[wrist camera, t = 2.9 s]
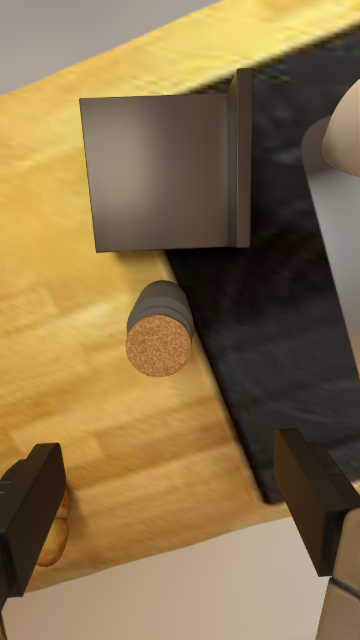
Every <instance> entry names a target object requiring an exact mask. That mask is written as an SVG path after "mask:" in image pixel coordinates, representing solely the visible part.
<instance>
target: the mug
mask: <svg viewBox="0 0 360 640" xmlns="http://www.w3.org/2000/svg"><path fill="white" fill-rule="evenodd" d="M321 151H322V156H323V159H324V160H325V162H326V163H327V164H328V165H329V166H331V167H333V168H335V169H338V170H340V171H343V172H345V173H348V174H351V175H355V176H360V79H359V80H358V81H357V82H356V83H355V84H354V85H353V86H352V87H351V88H350V89H349V90H348V92H347V93H346V94H345V95H344V97H343V98H342V99H341V101H340V102H339V104H338V106H337V107H336V109H335V111H334V113H333V115H332V117H331V120H330V122H329V125H328V128H327V130H326V133H325V136H324V138H323V141H322V148H321Z"/></svg>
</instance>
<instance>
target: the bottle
mask: <svg viewBox="0 0 360 640" xmlns="http://www.w3.org/2000/svg"><path fill="white" fill-rule="evenodd" d="M193 333H194V323H193V318H192V314H191V311H190V307H189V304H188V301H187V298H186V295H185V293H184V291H183V290H182V289H181V288H180V287H179V286H178V285H176V284H175V283H173V282H170V281H164V280H161V281H156V282H153V283H151V284H149V285H148V286H147V287H145V288H144V290H143V291H142V292H141V294H140V296H139V298H138V299H137V301H136V303H135V305H134V307H133V309H132V311H131V313H130V315H129V318H128V322H127V340H126V352H127V356H128V359H129V360H130V362H131V364H132V365H133V366H134V367H135V368H136V369H137V370H138V371H140V372H141V373H143V374H145V375H148V376H152V377H165V376H169V375H172V374H174V373H176V372H177V371H179V370H180V369H181V368H182V367H183V366H184V365H185V363H186V362H187V360H188V358H189V356H190V352H191V344H192V338H193Z"/></svg>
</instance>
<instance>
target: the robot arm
mask: <svg viewBox="0 0 360 640" xmlns="http://www.w3.org/2000/svg"><path fill="white" fill-rule="evenodd" d="M274 472H275V477H276V480H277V483H278V486H279V488H280V490H281V492H282V495H283V497H284V499H285V502H286V504H287V506H288V508H289V511H290V513H291V515H292V517H293V520H294V522H295V524H296V526H297V529H298V531H299V533H300V535H301V537H302V540H303V542H304V544H305V547H306V549H307V551H308V554H309V556H310V558H311V560H312V562H313V565H314V567H315V569H316V572H317V574H318V576H319V577H323V576H332V578H331V577H330V579H329V582H328V586H327V590H326V595H325V599H324V604H323V608H322V613H321V617H320V621H319V626H318V631H317V635H316V639H315V640H360V495H359V494H358V492H357V491H356V490H355V488H354V487H353V486H352V484H351V483H350V481H349V480H348V479H347V477H346V476H345V475H344V474H342V471H341V469H340V468H339V467H338V465H337V464H335V461H334V460H333V459H332V457H331V456H330V455H329V453H328V452H327V451H326V450H325V449H323V448H322V447H321V446H319V445H318V444H316V443H315V442H307V441H306V440H305V439H304V437H303V436H302V434H301V433H300V431H299V430H298V429H297V428H295V429H278V430H276V432H275V447H274ZM65 489H66V475H65V469H64V463H63V457H62V451H61V446H60V444H59V443H42V444H36V445H35V446H34V448H33V449H32V451H31V452H30V454H29V455H28V457H27V458H26V459H22V460H19V461H18V462H17V463H15V464H14V465H13V466H12V467H11V468H9V469H8V470H7V471H6V473H5V474H4V475H3V477H2V478H1V480H0V640H7V636H6V631H5V626H4V622H3V617H2V613H1V611H2V609H3V606H4V604H5V602H6V600H7V598H10V597H22V596H23V595H24V592H25V590H26V587H27V585H28V582H29V580H30V577H31V575H32V573H33V570H34V568H35V565H36V563H37V560H38V558H39V556H40V553H41V551H42V548H43V546H44V543H45V541H46V538H47V536H48V534H49V531H50V529H51V526H52V524H53V521H54V519H55V516H56V514H57V512H58V509H59V507H60V504H61V502H62V499H63V497H64V494H65Z"/></svg>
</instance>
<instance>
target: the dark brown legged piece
mask: <svg viewBox="0 0 360 640" xmlns="http://www.w3.org/2000/svg"><path fill="white" fill-rule="evenodd" d="M252 87H253V69H252V68H240V69H237V71H236V73H235V76H234V78H233V81H232V83H231V86H230V88H229V91H228V93H216V94H188V95H161V96H133V97H105V98H80V99H79V102H80V111H81V120H82V129H83V138H84V147H85V157H86V166H87V175H88V184H89V193H90V202H91V211H92V220H93V229H94V238H95V247H96V252H97V253H101V252H123V251H145V250H167V249H189V248H211V247H234V248H246V247H250V222H251V155H252Z"/></svg>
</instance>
